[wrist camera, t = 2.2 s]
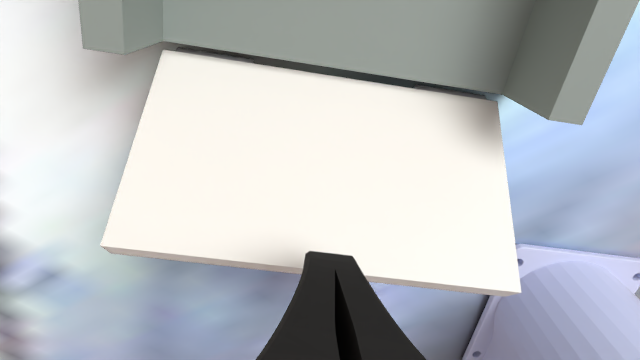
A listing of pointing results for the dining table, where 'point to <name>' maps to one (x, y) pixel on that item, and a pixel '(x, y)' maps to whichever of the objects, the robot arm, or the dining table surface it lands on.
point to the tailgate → (316, 176)
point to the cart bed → (396, 39)
